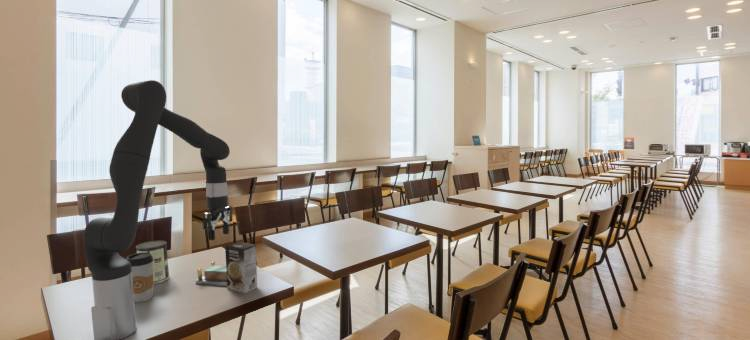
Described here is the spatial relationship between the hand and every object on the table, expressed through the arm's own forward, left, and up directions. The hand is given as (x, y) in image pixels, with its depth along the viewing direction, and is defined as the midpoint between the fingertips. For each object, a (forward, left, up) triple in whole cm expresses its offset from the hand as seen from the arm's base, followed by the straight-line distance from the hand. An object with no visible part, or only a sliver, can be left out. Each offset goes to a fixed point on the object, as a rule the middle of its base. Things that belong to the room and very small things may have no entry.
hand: (219, 236), depth 149 cm
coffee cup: (-20, +17, -17) cm, 31 cm away
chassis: (0, 0, -17) cm, 17 cm away
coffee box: (-5, -12, -17) cm, 22 cm away
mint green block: (0, 0, -16) cm, 16 cm away
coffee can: (-5, +26, -17) cm, 31 cm away
